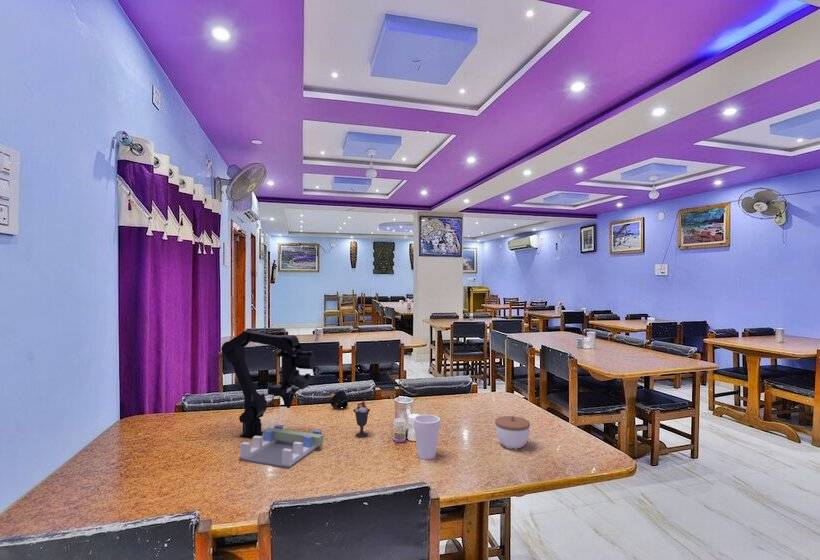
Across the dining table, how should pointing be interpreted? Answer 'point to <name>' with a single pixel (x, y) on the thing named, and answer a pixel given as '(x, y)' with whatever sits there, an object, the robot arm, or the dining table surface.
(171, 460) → the dining table surface
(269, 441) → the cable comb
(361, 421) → the sundae
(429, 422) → the foam cup
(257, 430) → the robot arm
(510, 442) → the lidded bowl
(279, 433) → the green flat block
